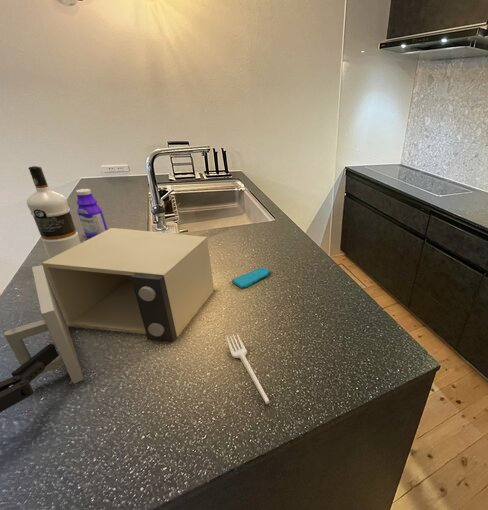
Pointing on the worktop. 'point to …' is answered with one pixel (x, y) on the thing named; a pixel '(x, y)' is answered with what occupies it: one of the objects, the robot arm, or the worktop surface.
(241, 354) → the fork
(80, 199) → the bottle
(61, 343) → the microwave door
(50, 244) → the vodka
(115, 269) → the microwave
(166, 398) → the worktop surface
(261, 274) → the sponge
